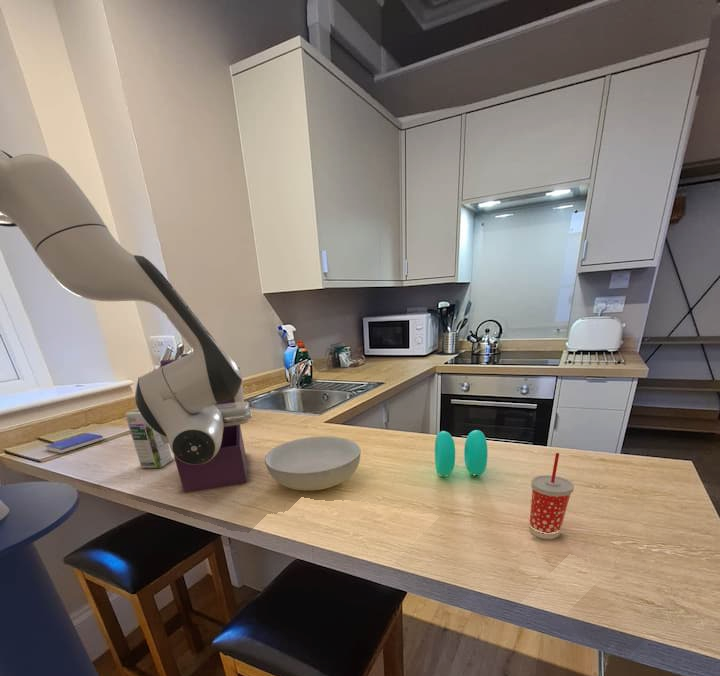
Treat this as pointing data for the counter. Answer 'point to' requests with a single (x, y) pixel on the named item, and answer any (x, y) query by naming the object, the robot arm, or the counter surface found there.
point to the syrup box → (147, 442)
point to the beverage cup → (549, 503)
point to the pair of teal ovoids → (472, 453)
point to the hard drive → (74, 443)
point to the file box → (217, 464)
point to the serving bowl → (313, 462)
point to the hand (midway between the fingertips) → (207, 408)
